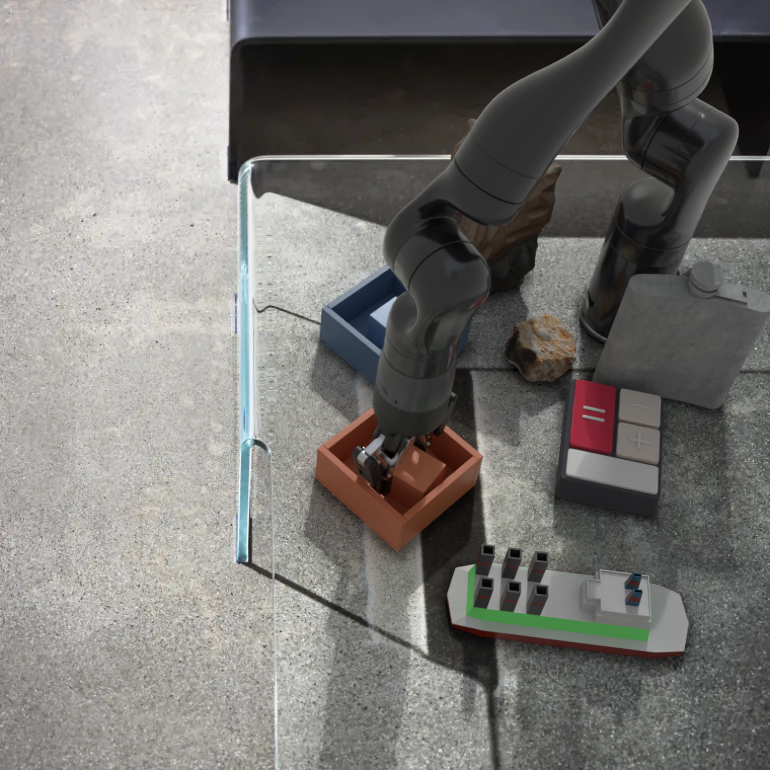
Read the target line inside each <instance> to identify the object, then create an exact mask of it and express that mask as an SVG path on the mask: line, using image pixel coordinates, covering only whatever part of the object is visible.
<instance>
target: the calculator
mask: <svg viewBox="0 0 770 770" xmlns="http://www.w3.org/2000/svg"><path fill="white" fill-rule="evenodd" d="M664 403H665V401H664V398H662V397H660V396H658V395H653V394H648V393H643V392H638V391H633V390H629V389H621V388H617V387H613V386H609V385H604V384H599V383H594V382H592V381H591V380H585V379H577V378H572V379H570V381H569V384H568V388H567V391H566V394H565V399H564V409H563V417H562V427H561V437H560V446H559V454H558V455H559V456H558V463H557V469H556V474H555V475H556V477H555V486H554V496H555V497H556V498H558V499H563V500H568V501H573V502H577V503H582V504H588V505H591V506H597V507H600V508H606V509H611V510H616V511H620V512H624V513H629V514H635V515H639V516H645V517H652V516H653V514H654V512H655V510H656V508H657V506H658V504H659V501H660V499H661V497H662V474H663V473H662V471H663V470H662V469H663V468H662V467H663V441H664V440H663V436H664Z"/></svg>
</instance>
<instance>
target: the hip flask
mask: <svg viewBox="0 0 770 770" xmlns="http://www.w3.org/2000/svg"><path fill="white" fill-rule="evenodd" d="M691 268H692V270H691V271H690V277H689V276H681V275H680V276H679V275H665V274H637V275H634V276H632V277H631V278H630V280H629V283H628V286H627V288H626V291H625V293H624V296H623V299H622V301H621V304H620V307H619V309H618V312H617V315H616V317H615V320H614V322H613V325H612V328H611V330H610V333H609V336H608V338H607V341H606V344H604V346H603V349H602V351H601V354H600V357H599V359H598V362H597V365H596V366H595V367H596V368H595V369H594V373H593V376H592V378H591V382H594V383H599V384H604V385H609V386H613V387H617V388H621V389H629V390H633V391H638V392H643V393H648V394H653V395H658V396H660V397H662V398H663V399H667V400H674V401H678V402H684V403H688V404H692V405H695V406H699V407H702V408H705V409H708V410H709V409H710V410H715V409H719V408H720V407H722V405H723V404H724V402H725V399H726V397H727V396H728V394H729V392H730V390H731V388H732V386H733V384H734V382H735V381H736V379H737V377H738V375H739V373H740V371H741V369H742V367H743V366H744V365H745V363H746V360H747V358H748V357H749V355H750V353H751V351H752V349H753V347H754V345H755V344H756V342H757V340H758V338H759V336H760V334H761V333H762V330H763V329H764V327H765V325H766V323H767V321H768V319H769V317H770V294H768V293H767V292H765V291H762V290H758V289H756V288H752V287H749V286H744V285H741V284H735V283H731V282H726V281H725V278H726V274H725V271H723V269H722V268H721V267H720V266H719V265H717V264H715V263H713V262H710V261H703V260H702V261H698V262H696V263H694V265H692V267H691Z"/></svg>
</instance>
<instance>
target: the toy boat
mask: <svg viewBox="0 0 770 770" xmlns="http://www.w3.org/2000/svg"><path fill="white" fill-rule="evenodd" d="M549 554H550V553H549V552H548V551H541V550H535V551H534V553H533V555H532V558H531V561H530V562H529V566H520V565H521V563H522V560H523V548H520V547H519V548H517V547H511V546H508V548H507V550H506V553H505V556H504V559H503V562H502V563H498V562H494V561H495V557H496V544H495V545H494V544H488V543H481V545H480V548H479V552H478V555H477V557H476V561H475V563H474V564H468V565H462V566H458V567H455V569H454V572H453V575H452V578H451V581H450V584H449V587H448V590H447V593H446V597H445V598H446V603H447V609H448V616H449V622H450V626H451V627H452V628H455V629H457V630H460V631H463V632H466V633H469V634H472V635H474V636H478V637H481V638H487V639H496V640H503V641H512V642H519V643H527V644H534V645H544V646H550V647H559V648H564V649H565V648H566V649H574V650H581V651H590V652H597V653H606V654H611V655H612V654H613V655H621V656H628V657H636V658H642V659H643V658H645V659H652V660H653V659H662V658H672V657H681V656H682V655H683V654H684V652H685V649H686V648H685V647H686V642H687V635H688V630H689V624H690V623H689V620H688V616H687V613H686V610H685V606H684V603H683V600H682V597H681V594H679V593H677V592H676V591H674V590H671V589H669V588H667V587H664V586H662V585H658V584H656V583H652V582H650V575H647V574H642V573H640V572H639V573H638V572H625V571H616V570H609V569H608V570H607V569H599V571H595V573H594V575H591V574H582V573H575V572H568V571H560V570H559V571H558V570H552V569H551V570H550V569H547V568H548V565H549V562H550V561H549V560H550V559H549V558H550V555H549Z"/></svg>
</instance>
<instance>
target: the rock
mask: <svg viewBox="0 0 770 770" xmlns="http://www.w3.org/2000/svg"><path fill="white" fill-rule="evenodd" d="M504 344H505V348H504V350H503V356H504V358H505V360H506V361H508V363H510V364H511V365H514V366H515V367H516V368H517V370H518V372H519V373H520V375H522V377H524V379H525V380H526V381H528V382H531V383H535V382H545V381H546V382H548V383H554V382H556V380H558V378H560V377H561V376H563V375H565V374H566V372H567V371H568V370H570V368H572V366H573V365H574V364H575V362H576V360H577V357H578V355H577V353H576V351H577V345H576V344H575V342H574V336H573V334H572V333H571V332H570V331H569V329H568V328H567V327H566V326H565V325H563V324H562V322H561V318H560V317H558V316H557V315H555V314H551V313H545V314H542V315H540V316H537V317H533V318H532V319H529V320H527V321H526V320H520V321H519V322H518V323H517V324H516V325H514V326H513V331H512V333H511V335H510V337H508V339H506V340H504Z"/></svg>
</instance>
